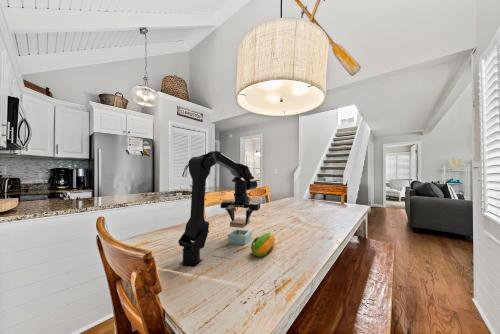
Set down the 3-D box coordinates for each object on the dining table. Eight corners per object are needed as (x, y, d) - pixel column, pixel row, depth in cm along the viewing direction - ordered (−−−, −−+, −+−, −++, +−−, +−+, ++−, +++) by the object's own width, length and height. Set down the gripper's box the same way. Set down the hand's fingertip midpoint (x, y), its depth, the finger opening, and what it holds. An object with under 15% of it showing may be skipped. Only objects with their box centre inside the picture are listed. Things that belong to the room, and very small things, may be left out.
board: (243, 228, 93) (243, 223, 93) (229, 226, 95) (229, 222, 95) (249, 222, 103) (249, 218, 103) (237, 221, 105) (237, 217, 105)
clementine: (242, 241, 97) (242, 234, 97) (235, 240, 98) (235, 234, 98) (244, 239, 100) (244, 232, 100) (238, 238, 101) (238, 232, 101)
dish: (245, 246, 93) (245, 236, 93) (227, 244, 96) (227, 234, 96) (251, 239, 102) (251, 230, 102) (235, 237, 105) (235, 228, 105)
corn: (246, 239, 80) (265, 226, 98) (245, 258, 81) (264, 242, 99) (264, 243, 77) (280, 229, 95) (263, 263, 77) (279, 245, 95)
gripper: (263, 190, 104) (263, 221, 104) (229, 188, 109) (229, 218, 109) (257, 192, 93) (257, 227, 93) (220, 190, 99) (219, 223, 99)
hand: (240, 223), depth 99 cm, fingers closed on board, 6 cm apart
